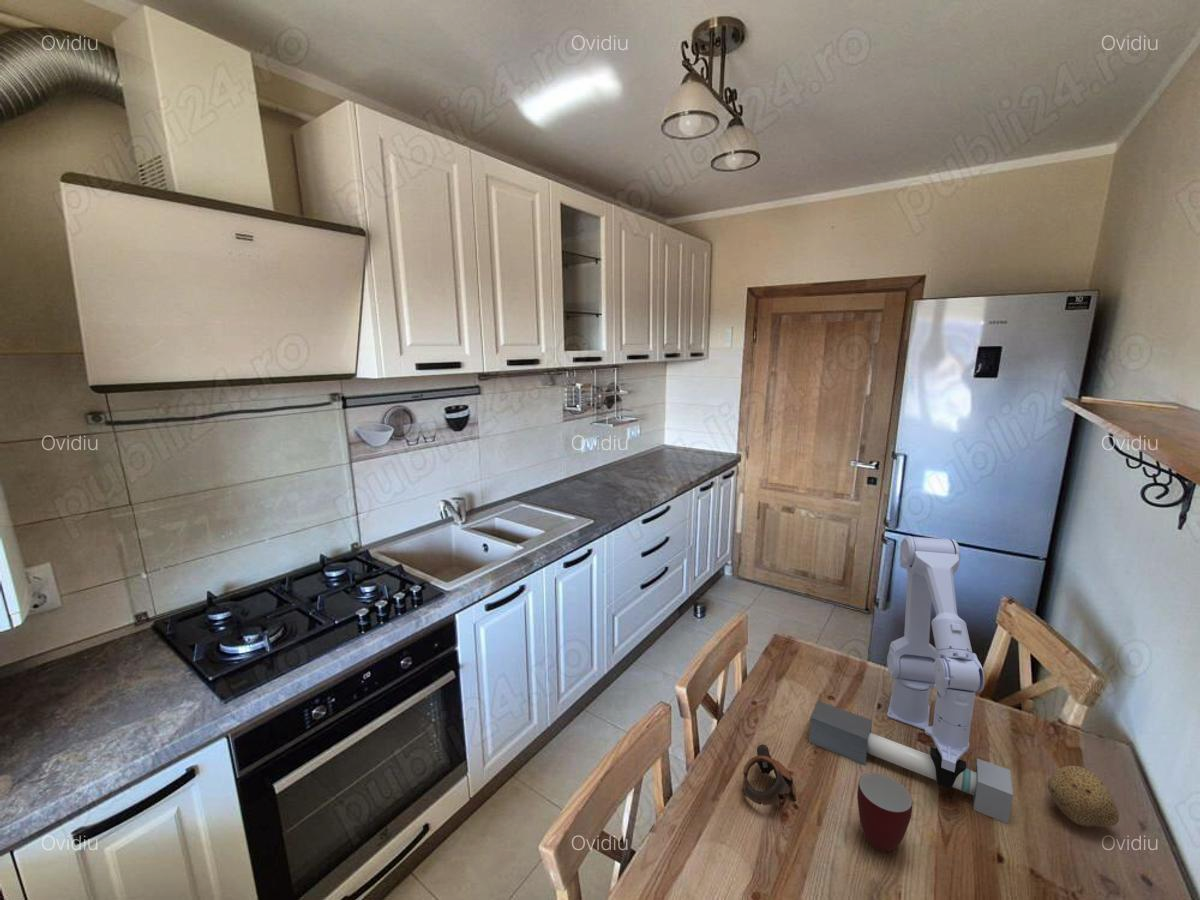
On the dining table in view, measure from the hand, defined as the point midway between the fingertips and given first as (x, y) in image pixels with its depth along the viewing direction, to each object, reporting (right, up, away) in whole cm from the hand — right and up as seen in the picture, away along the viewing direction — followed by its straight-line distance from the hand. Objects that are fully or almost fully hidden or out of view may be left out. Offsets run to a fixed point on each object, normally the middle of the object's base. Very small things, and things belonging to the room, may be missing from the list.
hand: (944, 777), depth 97 cm
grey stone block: (-15, 0, +11) cm, 19 cm away
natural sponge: (+19, -3, -7) cm, 20 cm away
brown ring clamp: (-35, -2, 0) cm, 35 cm away
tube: (-4, 0, +3) cm, 5 cm away
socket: (+6, -2, -4) cm, 7 cm away
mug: (-19, -4, -10) cm, 21 cm away
